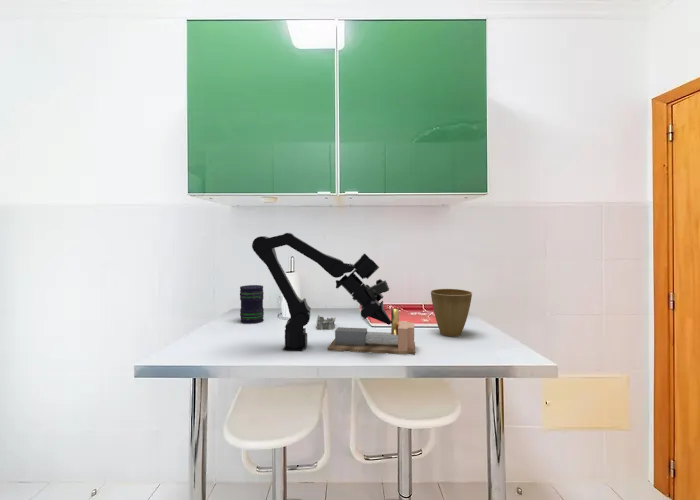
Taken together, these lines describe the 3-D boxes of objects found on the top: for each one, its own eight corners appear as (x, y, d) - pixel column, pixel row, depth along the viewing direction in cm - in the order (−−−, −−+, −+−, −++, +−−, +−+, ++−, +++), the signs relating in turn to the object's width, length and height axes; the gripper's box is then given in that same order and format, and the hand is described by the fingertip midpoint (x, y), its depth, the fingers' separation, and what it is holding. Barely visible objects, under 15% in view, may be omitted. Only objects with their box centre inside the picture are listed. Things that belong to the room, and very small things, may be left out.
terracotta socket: (397, 350, 125) (398, 328, 125) (399, 341, 135) (399, 321, 135) (414, 351, 124) (414, 328, 124) (414, 342, 134) (414, 321, 134)
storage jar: (235, 322, 169) (234, 287, 168) (251, 318, 178) (250, 284, 177) (253, 324, 164) (252, 288, 164) (268, 320, 173) (268, 285, 172)
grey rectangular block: (335, 345, 131) (335, 330, 131) (337, 341, 136) (337, 327, 136) (365, 346, 130) (365, 331, 129) (367, 342, 134) (367, 328, 134)
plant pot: (422, 331, 153) (423, 289, 152) (455, 328, 159) (455, 287, 158) (445, 341, 139) (445, 295, 139) (480, 337, 145) (480, 293, 144)
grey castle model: (318, 324, 167) (317, 314, 167) (336, 324, 167) (335, 314, 166) (315, 330, 156) (315, 319, 156) (334, 330, 156) (334, 320, 156)
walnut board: (327, 350, 128) (327, 347, 128) (334, 341, 139) (334, 338, 139) (414, 354, 124) (414, 351, 124) (414, 344, 135) (414, 342, 135)
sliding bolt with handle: (362, 342, 131) (362, 309, 130) (363, 340, 134) (363, 307, 133) (405, 344, 128) (405, 310, 128) (405, 342, 131) (406, 308, 131)
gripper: (371, 275, 121) (408, 312, 120) (377, 269, 140) (408, 301, 138) (345, 300, 123) (381, 337, 122) (354, 291, 141) (385, 323, 140)
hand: (390, 323), depth 130 cm, fingers closed, pressing on sliding bolt with handle
